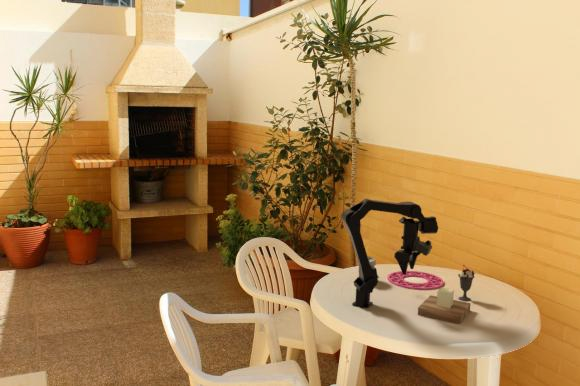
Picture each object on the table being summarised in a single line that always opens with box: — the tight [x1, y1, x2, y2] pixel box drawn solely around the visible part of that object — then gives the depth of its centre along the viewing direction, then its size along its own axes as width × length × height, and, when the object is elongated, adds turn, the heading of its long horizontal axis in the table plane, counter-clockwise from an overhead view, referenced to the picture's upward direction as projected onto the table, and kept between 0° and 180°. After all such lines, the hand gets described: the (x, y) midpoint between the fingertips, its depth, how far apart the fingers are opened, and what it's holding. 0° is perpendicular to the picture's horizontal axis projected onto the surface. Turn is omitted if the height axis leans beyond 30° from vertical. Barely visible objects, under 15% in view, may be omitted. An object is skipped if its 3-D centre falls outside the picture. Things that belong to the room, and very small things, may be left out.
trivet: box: [386, 270, 445, 291], centre depth 258 cm, size 25×25×1 cm
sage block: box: [436, 286, 455, 308], centre depth 219 cm, size 5×5×6 cm
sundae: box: [457, 264, 476, 302], centre depth 234 cm, size 7×7×15 cm
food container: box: [367, 255, 377, 267], centre depth 256 cm, size 12×6×10 cm, turn 179°
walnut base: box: [417, 294, 472, 325], centre depth 220 cm, size 16×16×3 cm
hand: (408, 271), depth 228 cm, fingers open, 9 cm apart
